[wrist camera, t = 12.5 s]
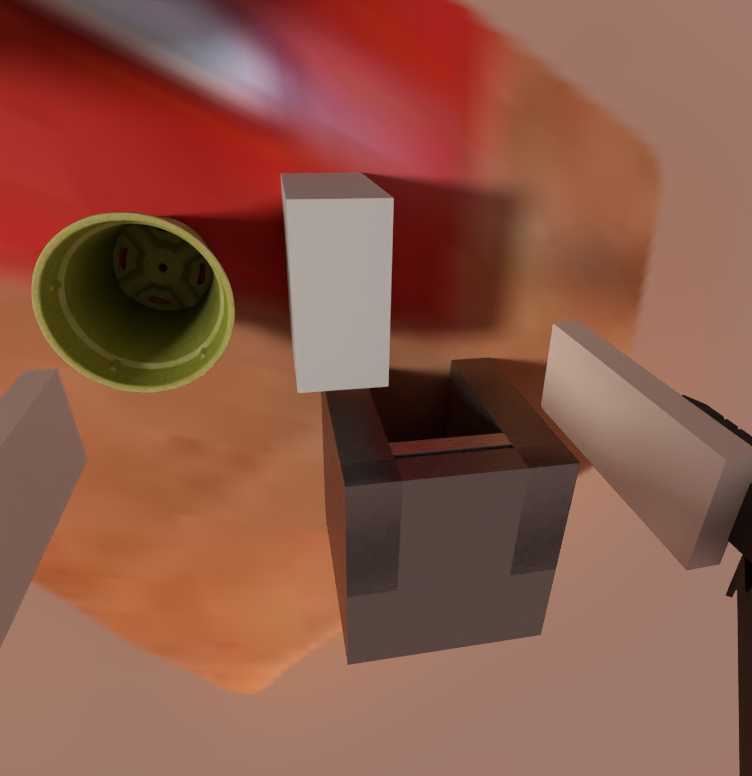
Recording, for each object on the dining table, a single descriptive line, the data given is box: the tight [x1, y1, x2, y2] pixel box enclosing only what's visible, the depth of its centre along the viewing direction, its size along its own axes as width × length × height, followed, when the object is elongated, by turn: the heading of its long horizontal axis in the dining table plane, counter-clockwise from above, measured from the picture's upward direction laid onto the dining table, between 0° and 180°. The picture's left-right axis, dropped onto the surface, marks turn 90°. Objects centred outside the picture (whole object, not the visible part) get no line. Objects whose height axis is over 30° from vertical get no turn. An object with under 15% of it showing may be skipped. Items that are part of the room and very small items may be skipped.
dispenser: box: [321, 358, 580, 664], centre depth 38 cm, size 14×13×14 cm
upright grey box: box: [281, 173, 394, 393], centre depth 32 cm, size 10×5×10 cm, turn 179°
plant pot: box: [32, 212, 235, 392], centre depth 31 cm, size 9×9×9 cm
